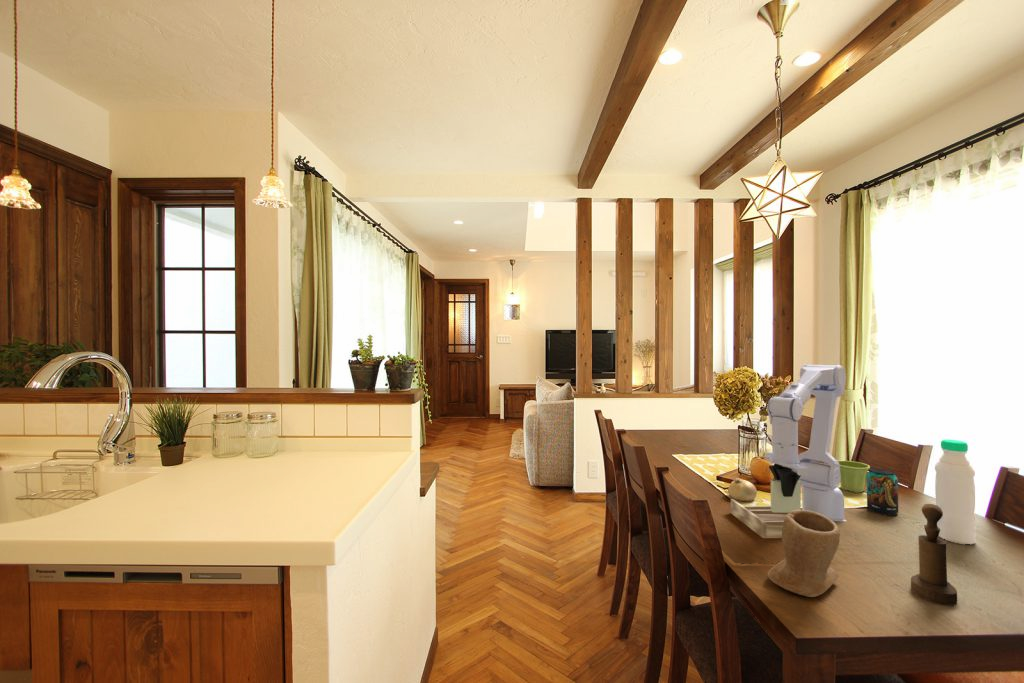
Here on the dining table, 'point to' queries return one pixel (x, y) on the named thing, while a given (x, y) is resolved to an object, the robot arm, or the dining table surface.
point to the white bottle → (955, 493)
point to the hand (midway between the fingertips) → (785, 495)
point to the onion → (742, 490)
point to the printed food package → (882, 491)
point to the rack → (758, 519)
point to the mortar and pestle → (933, 562)
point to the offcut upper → (771, 517)
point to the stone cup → (807, 553)
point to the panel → (784, 498)
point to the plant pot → (853, 475)
